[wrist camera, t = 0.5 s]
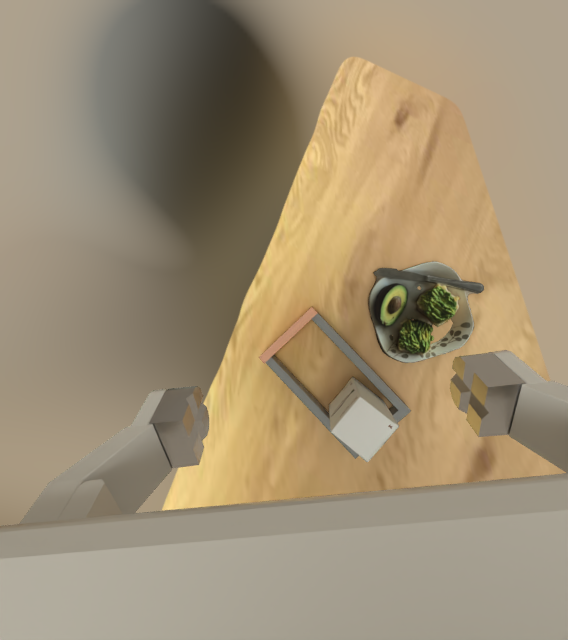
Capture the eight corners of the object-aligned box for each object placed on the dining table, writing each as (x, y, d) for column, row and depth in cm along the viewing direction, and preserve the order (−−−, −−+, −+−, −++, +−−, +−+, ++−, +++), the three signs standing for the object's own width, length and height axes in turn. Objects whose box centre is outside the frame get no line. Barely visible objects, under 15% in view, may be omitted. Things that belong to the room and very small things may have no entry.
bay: (406, 405, 58) (412, 413, 54) (353, 450, 60) (356, 461, 56) (312, 306, 59) (311, 307, 55) (262, 353, 61) (258, 357, 57)
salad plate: (466, 243, 56) (479, 237, 51) (493, 340, 56) (508, 343, 52) (358, 275, 58) (361, 273, 54) (384, 368, 59) (390, 374, 54)
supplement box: (352, 375, 59) (361, 394, 46) (384, 400, 59) (401, 427, 46) (327, 404, 60) (329, 432, 47) (358, 430, 59) (368, 464, 47)
